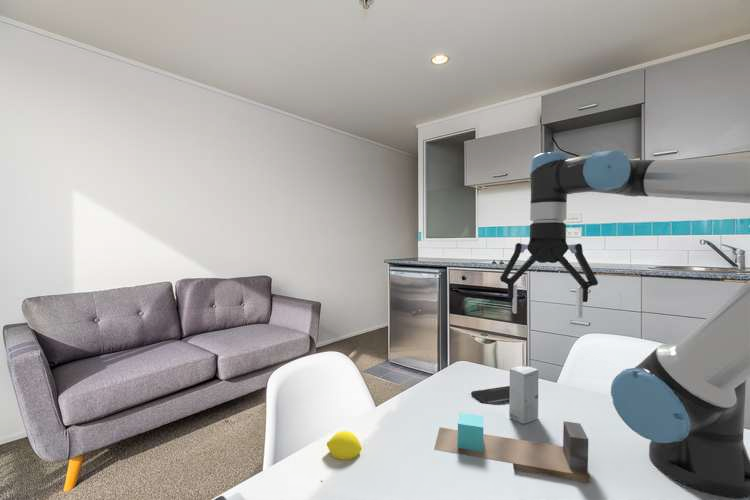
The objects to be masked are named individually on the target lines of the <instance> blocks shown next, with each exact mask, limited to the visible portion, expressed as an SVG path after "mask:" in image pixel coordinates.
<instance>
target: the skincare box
mask: <svg viewBox="0 0 750 500" xmlns="http://www.w3.org/2000/svg"><path fill="white" fill-rule="evenodd" d="M509 386H510V400H509V403H508V405H509V411H508V412H509V413H508V414H509V418H511V419H512V420H514V421H516V422H517V423H520V424H523V425H524V424H528V423H530V422H532V421H535V420H537V419H538V418H539V369H537V368H535V367H531V366H528V365H525V364H524V365H519V366H516V367H512V368H510V369H509Z"/></svg>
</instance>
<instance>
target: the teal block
mask: <svg viewBox="0 0 750 500" xmlns="http://www.w3.org/2000/svg"><path fill="white" fill-rule="evenodd" d="M484 419H485V418H484V415H479V414H473V413H466V412H459V415H458V422H457V430H458V448H462V449H468V450H474V451H480V452H483V434H484V421H485V420H484Z"/></svg>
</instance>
